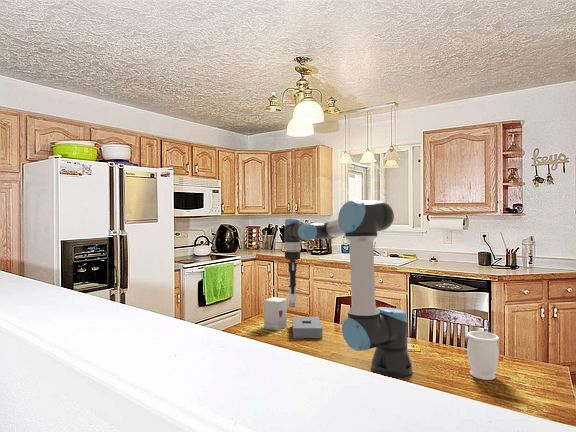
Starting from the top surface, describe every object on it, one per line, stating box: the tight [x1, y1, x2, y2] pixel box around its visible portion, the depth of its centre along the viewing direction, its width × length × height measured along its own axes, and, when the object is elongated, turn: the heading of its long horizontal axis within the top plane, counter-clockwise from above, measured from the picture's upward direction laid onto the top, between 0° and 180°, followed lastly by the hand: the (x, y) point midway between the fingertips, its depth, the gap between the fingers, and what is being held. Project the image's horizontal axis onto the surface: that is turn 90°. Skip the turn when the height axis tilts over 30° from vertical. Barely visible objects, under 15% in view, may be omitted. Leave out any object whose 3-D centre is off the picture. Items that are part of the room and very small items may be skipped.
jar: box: [466, 330, 500, 381], centre depth 138 cm, size 11×10×15 cm
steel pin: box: [288, 274, 297, 309], centre depth 180 cm, size 3×3×15 cm
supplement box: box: [263, 296, 288, 331], centre depth 198 cm, size 9×9×15 cm
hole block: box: [291, 316, 323, 340], centre depth 190 cm, size 20×14×5 cm
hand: (292, 299), depth 180 cm, fingers closed on steel pin, 3 cm apart
